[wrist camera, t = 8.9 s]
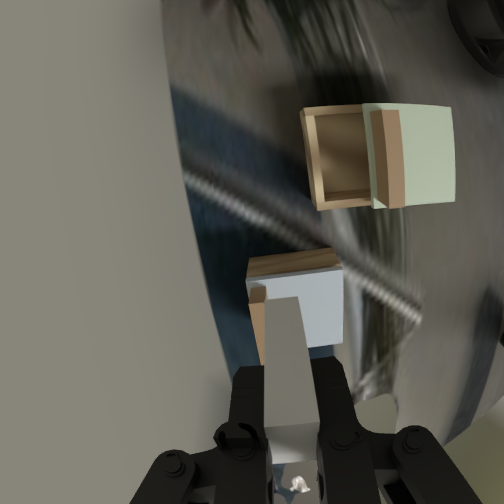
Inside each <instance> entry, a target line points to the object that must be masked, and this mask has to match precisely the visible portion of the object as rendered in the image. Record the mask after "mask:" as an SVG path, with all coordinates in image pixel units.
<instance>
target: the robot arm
mask: <svg viewBox="0 0 504 504" xmlns="http://www.w3.org/2000/svg"><path fill="white" fill-rule="evenodd" d="M448 9H449V13H450V17H451V20H452V22H453V25H454V27H455V29H456V31H457V33H458V35H459V37H460V38H461V40H462V42H463V43H464V45H465V46H466V48H467V49H468V50H469V52H470V53H471V54H472V55H473V57H474V58H475V59H476V60H477V61H478V62H479V63H480V64H481V65H482V66H483V67H484V68H485V69H487V70H488V71H489V72H491V73H492V74H494V75H496V76H499V77H503V78H504V0H448ZM213 438H214V440H215V442H216V444H217V447H215V448H213V449H211V450H208V451H204V452H200V453H195V454H191V455H189V454H188V453H186V452H184V451H182V450H169V451H165V452H164V453H162V454H160V455H159V456H158V457H157V458H156V459H155V461H154V463H153V464H152V466H151V468H150V469H149V471H148V473H147V475H146V477H145V478H144V480H143V481H142V483H141V485H140V487H139V488H138V490H137V492H136V493H135V495H134V497H133V499H132V500H131V502H130V504H274V478H273V474H272V463H273V464H277V463H290V462H300V461H308V460H317V465H318V473H317V481H318V487H319V497H320V504H381V500H380V496H379V490H378V488H379V489H380V491H381V493H382V495H383V497H384V498H385V500H386V502H387V504H482V502H481V501H480V499H479V498H478V496H477V495H476V494H475V493H474V491H473V489H472V488H471V487H470V485H469V484H468V482H467V481H466V480H465V478H464V477H463V475H462V474H461V473H460V471H459V470H458V468H457V467H456V466H455V464H454V463H453V461H452V460H451V459H450V457H449V456H448V455H447V453H446V452H445V451H444V449H443V448H442V446H441V445H440V444H439V442H438V441H437V440H436V438H435V437H434V436H433V434H432V433H431V432H430V431H429V430H428V429H426V428H425V427H422V426H419V425H411V426H408V427H405V428H403V429H402V430H400V431H399V432H398V433H397V434H384V433H381V434H380V433H374V432H371V431H368V430H366V429H365V428H364V427H362V426H361V424H360V423H359V422H358V419H357V417H356V413H355V409H354V405H353V401H352V398H351V394H350V390H349V387H348V383H347V379H346V377H345V372H344V369H343V365H342V364H341V363H340V362H339V361H338V360H337V359H336V358H335V356H331V357H324V358H317V359H310V358H309V353H308V347H307V341H306V336H305V331H304V325H303V320H302V315H301V310H300V304H299V299H298V296H294V297H285V298H277V299H267V300H264V365H259V366H245V367H240V368H239V369H238V371H237V372H236V374H235V375H234V377H233V385H232V394H231V404H230V411H229V420H228V422H226V423H224V424H222V425H221V426H220V427H219V428H218V429H217V430H216V432H215V434H214V437H213Z"/></svg>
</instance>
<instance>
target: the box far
mask: <svg viewBox="0 0 504 504" xmlns="http://www.w3.org/2000/svg"><path fill="white" fill-rule="evenodd" d="M338 266H340V262H339V260H338V258H337V256H336V254H335V252H334V250H333V248H332V247H331V248H323V249H315V250H308V251H300V252H292V253H284V254H276V255H268V256H260V257H251V258H249V263H248V269H247V278H249V277H258V276H266V275H275V274H283V273H291V272H299V271H307V270H315V269H322V268H330V267H338Z"/></svg>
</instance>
